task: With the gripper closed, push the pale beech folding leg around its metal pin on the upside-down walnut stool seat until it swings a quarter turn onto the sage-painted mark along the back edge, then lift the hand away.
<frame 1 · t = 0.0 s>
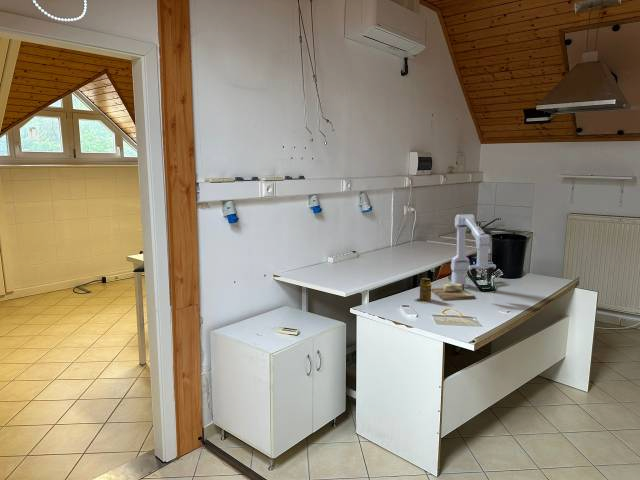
hand: (481, 281, 256), 10 cm above the table, tool pointing down, fingers open, 7 cm apart
folding leg: (454, 287, 271), point 3 cm above the table, hinge at 0.0°
stool seat: (452, 294, 268), on the table
condiment: (424, 300, 259), on the table
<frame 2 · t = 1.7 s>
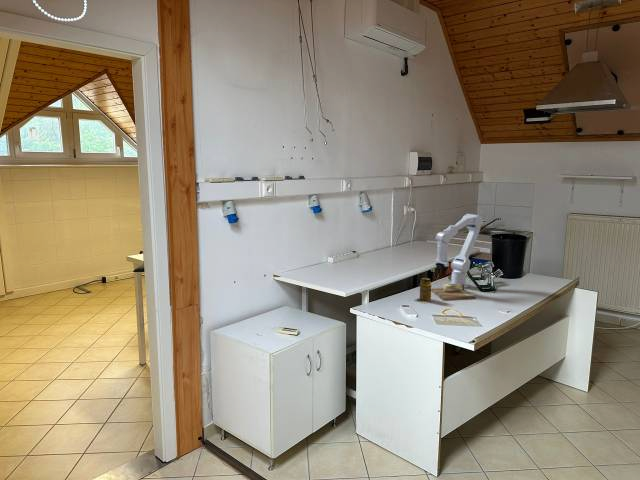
hand: (441, 276, 277), 8 cm above the table, tool pointing down, fingers open, 3 cm apart
nothing on the table moved.
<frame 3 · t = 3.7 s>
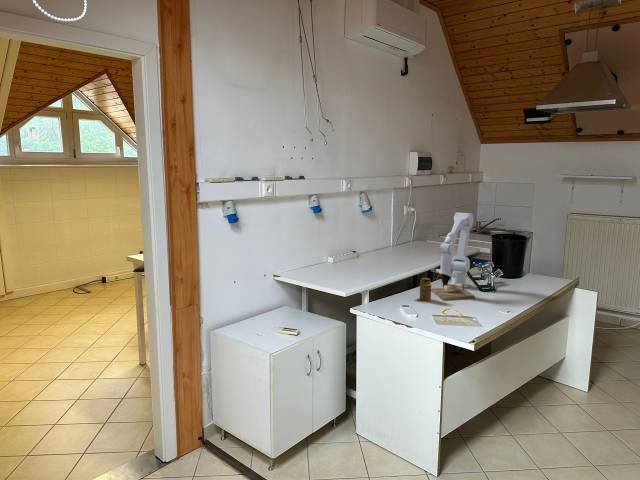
hand: (445, 287, 271), 3 cm above the table, tool pointing down, fingers closed, pressing on folding leg
folding leg: (454, 287, 270), point 3 cm above the table, hinge at 7.7°, touching gripper
everything else where it was.
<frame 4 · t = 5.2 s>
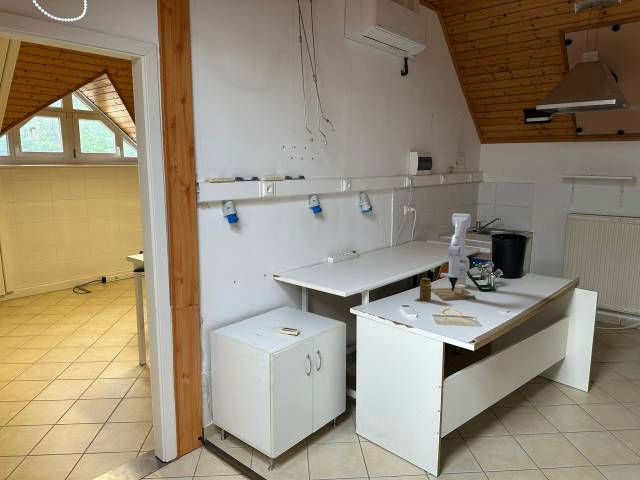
hand: (453, 290, 265), 3 cm above the table, tool pointing down, fingers closed, pressing on folding leg
folding leg: (459, 288, 267), point 3 cm above the table, hinge at 50.7°, touching gripper
everything else where it was.
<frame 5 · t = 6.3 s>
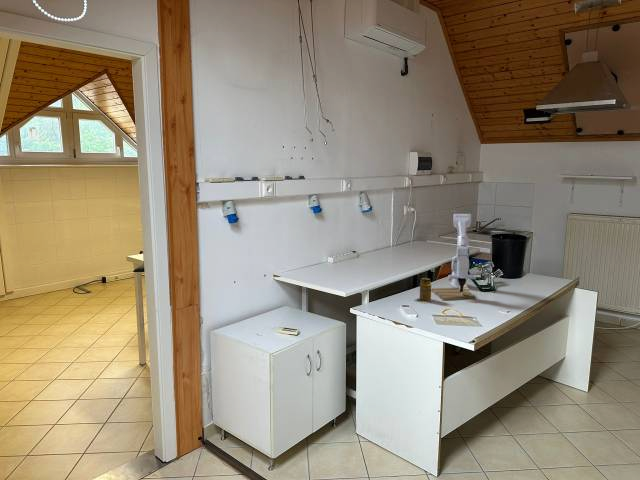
hand: (461, 291, 263), 3 cm above the table, tool pointing down, fingers closed, pressing on folding leg
folding leg: (463, 289, 267), point 3 cm above the table, hinge at 76.8°, touching gripper
everything else where it was.
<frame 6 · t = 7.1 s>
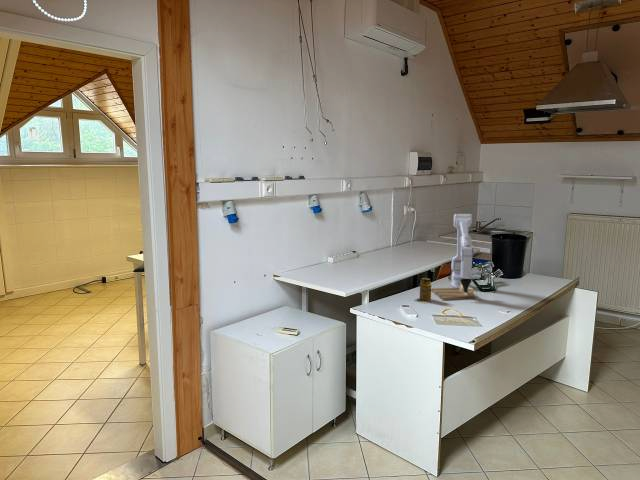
hand: (465, 292, 262), 3 cm above the table, tool pointing down, fingers closed
folding leg: (466, 289, 267), point 3 cm above the table, hinge at 91.0°, touching gripper
everything else where it was.
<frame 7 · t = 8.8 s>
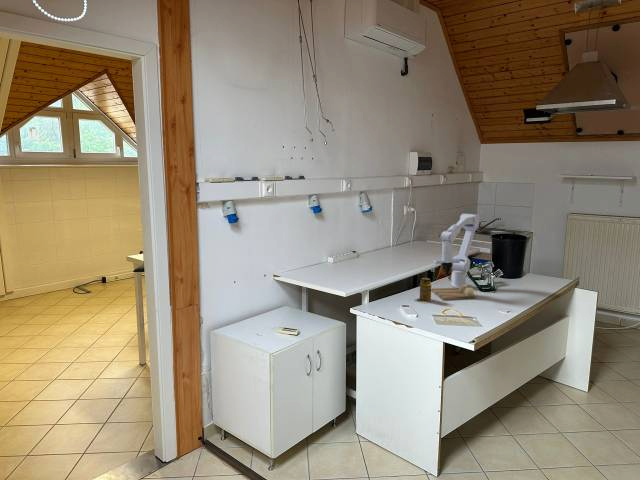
hand: (446, 275, 273), 9 cm above the table, tool pointing down, fingers closed
folding leg: (466, 289, 267), point 3 cm above the table, hinge at 91.1°
everything else where it was.
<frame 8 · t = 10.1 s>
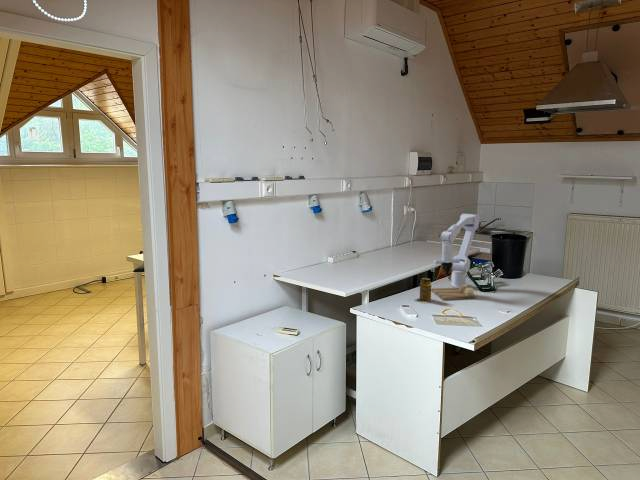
hand: (446, 275, 273), 9 cm above the table, tool pointing down, fingers closed
nothing on the table moved.
at the end: folding leg at +91° (first picture: +0°); condiment moved 0.3 cm from its start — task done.
